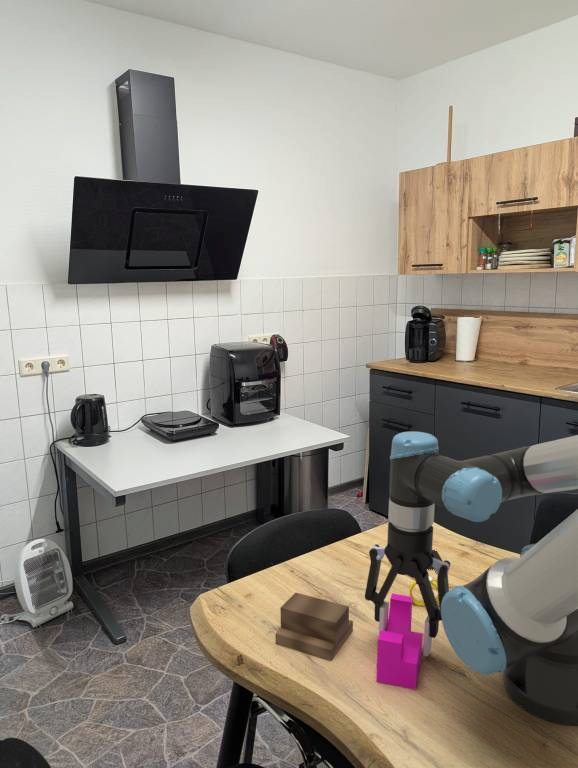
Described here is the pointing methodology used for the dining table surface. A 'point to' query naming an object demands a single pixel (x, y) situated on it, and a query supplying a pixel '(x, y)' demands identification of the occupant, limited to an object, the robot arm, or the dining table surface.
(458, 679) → the dining table surface
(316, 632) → the brown stepped wooden stand
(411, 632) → the toy block
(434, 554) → the black smartphone
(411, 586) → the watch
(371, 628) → the dining table surface
